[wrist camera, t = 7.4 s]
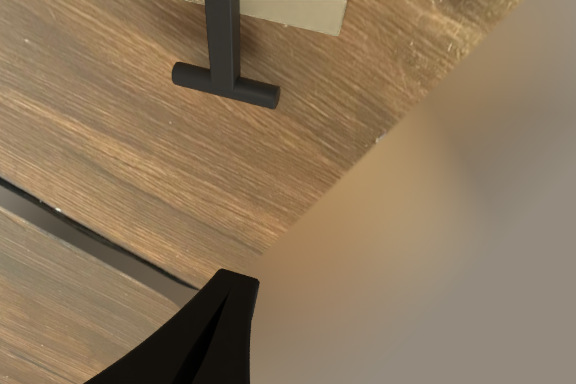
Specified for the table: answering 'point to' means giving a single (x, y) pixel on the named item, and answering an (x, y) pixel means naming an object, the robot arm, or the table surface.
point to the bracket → (297, 13)
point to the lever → (225, 61)
